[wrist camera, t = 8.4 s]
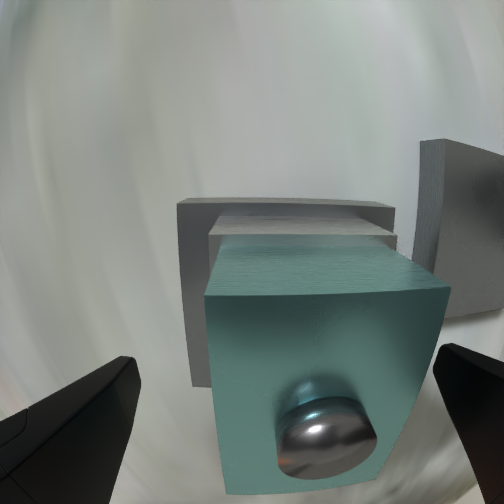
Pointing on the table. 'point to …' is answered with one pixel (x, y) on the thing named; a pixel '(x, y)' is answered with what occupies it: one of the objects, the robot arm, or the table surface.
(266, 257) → the housing
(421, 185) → the stand
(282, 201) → the stand
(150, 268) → the table surface
